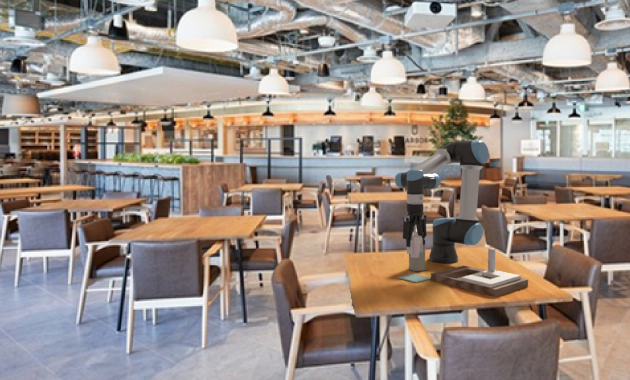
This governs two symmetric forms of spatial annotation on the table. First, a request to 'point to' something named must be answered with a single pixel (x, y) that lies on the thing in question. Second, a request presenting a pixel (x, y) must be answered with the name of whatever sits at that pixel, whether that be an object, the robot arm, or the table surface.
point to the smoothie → (415, 245)
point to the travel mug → (418, 260)
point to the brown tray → (451, 274)
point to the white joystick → (492, 274)
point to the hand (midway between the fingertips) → (414, 252)
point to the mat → (414, 278)
